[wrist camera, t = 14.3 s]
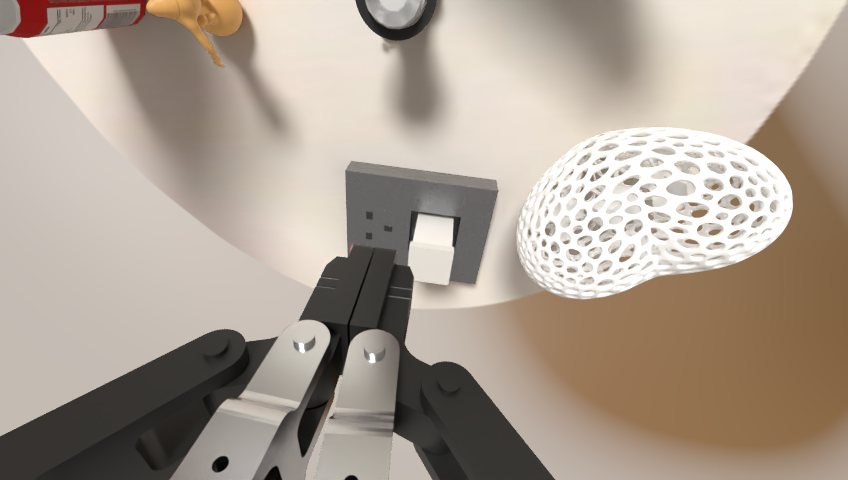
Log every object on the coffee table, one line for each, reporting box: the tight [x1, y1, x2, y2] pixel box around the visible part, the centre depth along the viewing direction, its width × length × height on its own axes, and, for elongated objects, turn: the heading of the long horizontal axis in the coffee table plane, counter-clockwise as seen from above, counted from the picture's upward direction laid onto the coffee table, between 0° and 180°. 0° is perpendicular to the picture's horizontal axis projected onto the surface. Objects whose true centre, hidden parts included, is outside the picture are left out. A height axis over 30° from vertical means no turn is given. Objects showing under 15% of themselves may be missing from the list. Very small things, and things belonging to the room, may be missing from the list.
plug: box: [408, 212, 454, 285], centre depth 40 cm, size 4×4×8 cm
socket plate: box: [345, 161, 498, 284], centre depth 42 cm, size 16×13×3 cm
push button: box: [356, 0, 437, 41], centre depth 27 cm, size 7×5×10 cm
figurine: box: [146, 0, 243, 67], centre depth 27 cm, size 8×6×12 cm
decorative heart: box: [516, 127, 793, 299], centre depth 30 cm, size 18×11×17 cm, turn 117°
